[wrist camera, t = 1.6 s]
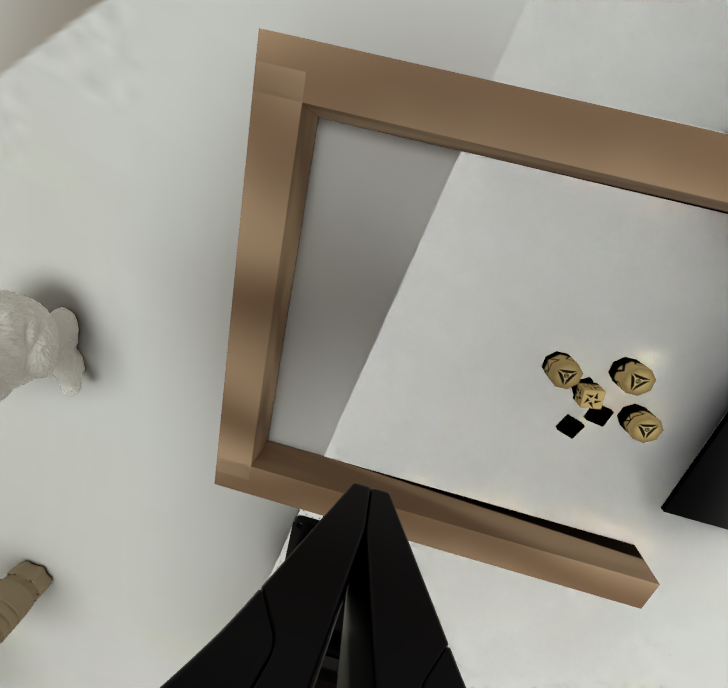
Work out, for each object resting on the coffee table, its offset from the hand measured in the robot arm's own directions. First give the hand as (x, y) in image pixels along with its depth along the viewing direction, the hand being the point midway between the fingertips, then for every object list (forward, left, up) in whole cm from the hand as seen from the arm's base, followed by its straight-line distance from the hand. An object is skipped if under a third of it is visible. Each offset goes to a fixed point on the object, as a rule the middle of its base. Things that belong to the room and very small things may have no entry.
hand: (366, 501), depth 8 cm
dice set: (0, -11, -13) cm, 17 cm away
